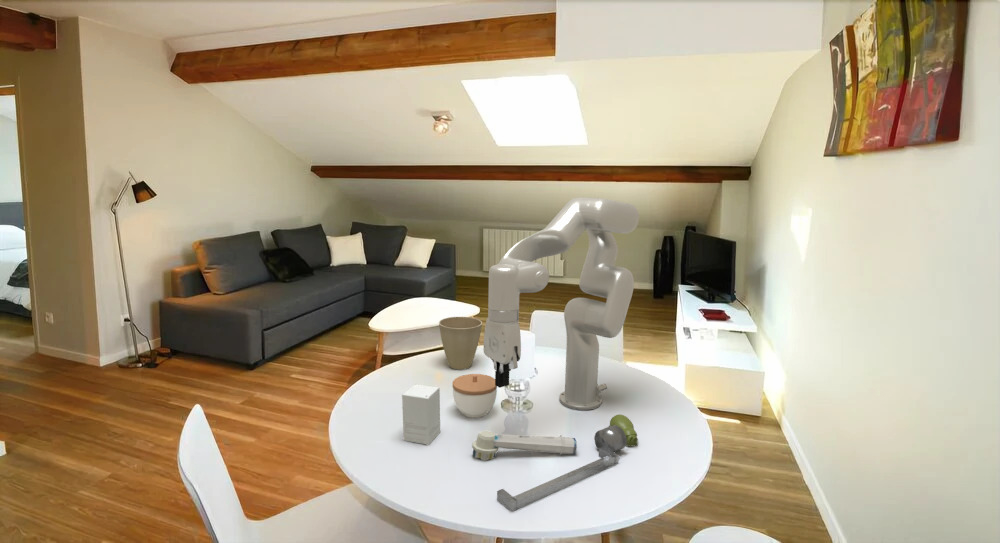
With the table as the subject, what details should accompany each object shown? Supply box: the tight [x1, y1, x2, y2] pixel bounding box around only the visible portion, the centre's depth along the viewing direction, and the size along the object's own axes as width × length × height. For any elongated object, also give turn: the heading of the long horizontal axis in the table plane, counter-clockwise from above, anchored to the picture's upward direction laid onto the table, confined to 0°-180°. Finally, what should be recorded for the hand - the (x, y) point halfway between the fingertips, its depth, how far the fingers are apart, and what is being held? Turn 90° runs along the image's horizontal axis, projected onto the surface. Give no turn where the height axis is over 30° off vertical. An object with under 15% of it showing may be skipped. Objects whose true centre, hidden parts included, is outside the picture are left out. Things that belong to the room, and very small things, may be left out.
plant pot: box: [438, 316, 483, 371], centre depth 187 cm, size 15×15×16 cm
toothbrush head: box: [471, 430, 578, 462], centre depth 131 cm, size 5×7×25 cm
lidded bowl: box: [452, 373, 498, 419], centre depth 152 cm, size 13×13×11 cm
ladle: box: [496, 425, 627, 513], centre depth 123 cm, size 37×8×6 cm, turn 126°
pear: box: [609, 414, 639, 447], centre depth 139 cm, size 6×5×10 cm
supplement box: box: [401, 383, 441, 446], centre depth 138 cm, size 7×7×13 cm
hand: (502, 385), depth 135 cm, fingers closed
